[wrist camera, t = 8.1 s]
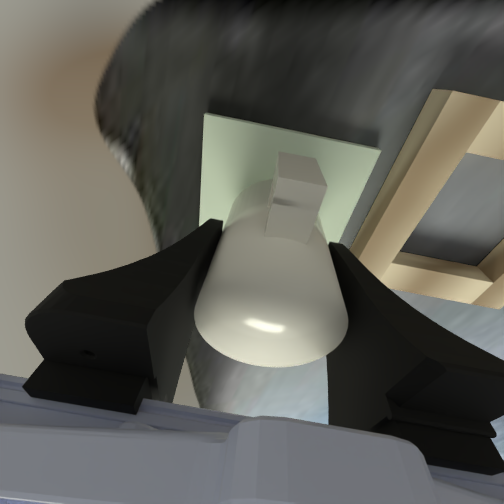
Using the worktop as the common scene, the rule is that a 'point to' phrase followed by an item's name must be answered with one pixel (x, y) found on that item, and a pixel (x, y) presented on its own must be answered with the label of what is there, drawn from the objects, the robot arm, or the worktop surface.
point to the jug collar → (422, 195)
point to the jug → (274, 274)
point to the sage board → (263, 165)
